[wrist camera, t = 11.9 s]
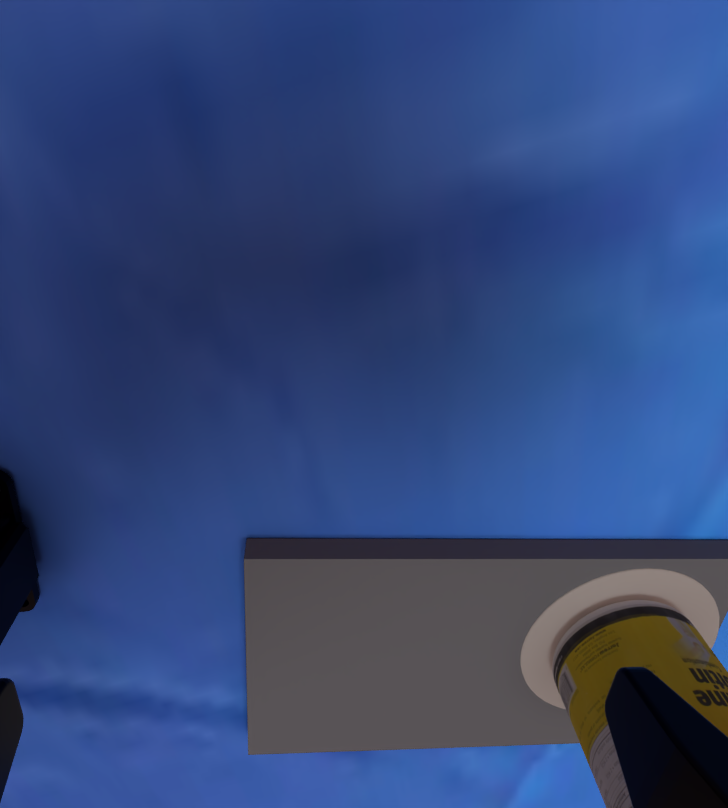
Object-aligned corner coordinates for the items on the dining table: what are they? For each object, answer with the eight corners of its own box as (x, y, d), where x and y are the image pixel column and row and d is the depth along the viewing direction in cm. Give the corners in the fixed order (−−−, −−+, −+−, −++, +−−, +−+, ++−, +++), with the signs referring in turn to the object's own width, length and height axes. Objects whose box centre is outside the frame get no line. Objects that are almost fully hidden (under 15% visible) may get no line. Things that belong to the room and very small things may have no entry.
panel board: (250, 730, 29) (248, 756, 28) (246, 538, 24) (243, 561, 23) (653, 718, 32) (666, 742, 30) (734, 540, 26) (754, 560, 25)
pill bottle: (698, 665, 28) (928, 1000, 17) (566, 710, 28) (711, 1058, 18) (676, 570, 25) (936, 907, 15) (528, 624, 26) (677, 980, 15)
